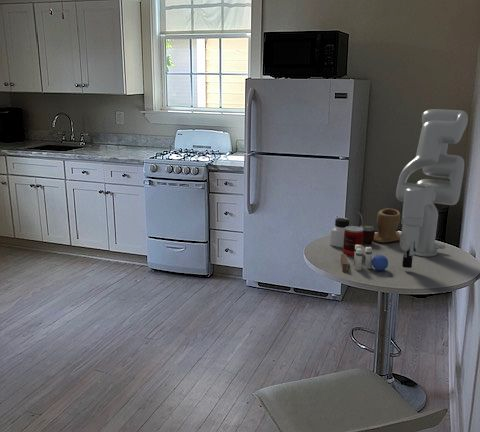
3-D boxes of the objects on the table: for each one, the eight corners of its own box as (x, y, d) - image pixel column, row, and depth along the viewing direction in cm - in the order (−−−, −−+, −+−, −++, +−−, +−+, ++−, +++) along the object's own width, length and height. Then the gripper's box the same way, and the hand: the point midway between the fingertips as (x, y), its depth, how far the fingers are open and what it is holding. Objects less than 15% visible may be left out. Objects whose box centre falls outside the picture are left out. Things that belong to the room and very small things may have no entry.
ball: (367, 261, 198) (380, 268, 199) (370, 268, 193) (383, 276, 193) (376, 249, 196) (389, 256, 197) (379, 256, 190) (392, 264, 191)
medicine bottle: (345, 248, 221) (347, 221, 218) (329, 245, 224) (331, 219, 221) (350, 244, 227) (353, 218, 224) (335, 241, 230) (337, 215, 227)
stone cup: (382, 246, 225) (385, 213, 222) (365, 238, 236) (368, 207, 232) (409, 243, 231) (413, 211, 227) (392, 236, 242) (395, 205, 238)
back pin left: (359, 268, 197) (361, 248, 195) (362, 270, 194) (363, 250, 192) (353, 268, 196) (355, 248, 194) (355, 270, 194) (357, 250, 192)
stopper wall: (345, 261, 204) (346, 254, 203) (347, 271, 193) (348, 264, 192) (340, 260, 204) (341, 253, 204) (342, 271, 193) (343, 263, 192)
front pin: (370, 266, 199) (370, 246, 197) (373, 268, 196) (372, 248, 194) (364, 267, 198) (364, 247, 197) (367, 269, 196) (366, 249, 194)
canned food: (360, 251, 218) (362, 226, 215) (362, 257, 210) (364, 231, 207) (341, 250, 218) (343, 225, 216) (343, 256, 211) (345, 230, 208)
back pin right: (358, 263, 202) (360, 244, 200) (360, 266, 199) (362, 246, 197) (352, 263, 201) (354, 244, 199) (354, 266, 199) (356, 246, 197)
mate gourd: (375, 242, 230) (378, 210, 227) (370, 246, 224) (373, 213, 220) (359, 239, 234) (362, 207, 231) (353, 243, 228) (356, 211, 224)
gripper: (398, 215, 198) (393, 259, 203) (405, 225, 184) (400, 273, 189) (418, 216, 198) (412, 261, 202) (427, 226, 183) (421, 274, 188)
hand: (406, 266), depth 195 cm, fingers closed
